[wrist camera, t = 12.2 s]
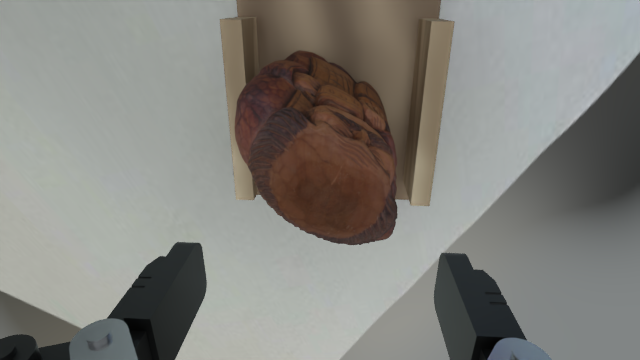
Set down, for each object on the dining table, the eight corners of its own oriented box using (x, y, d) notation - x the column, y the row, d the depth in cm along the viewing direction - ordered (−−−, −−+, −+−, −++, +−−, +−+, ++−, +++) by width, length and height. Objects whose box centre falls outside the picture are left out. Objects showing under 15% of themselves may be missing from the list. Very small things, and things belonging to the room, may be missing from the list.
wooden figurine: (410, 109, 34) (469, 208, 18) (368, 166, 37) (385, 300, 20) (293, 32, 32) (237, 62, 16) (256, 97, 34) (175, 184, 18)
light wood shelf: (254, 187, 40) (238, 220, 34) (240, -10, 32) (216, -13, 26) (414, 193, 39) (426, 227, 33) (437, -9, 32) (458, -12, 26)
